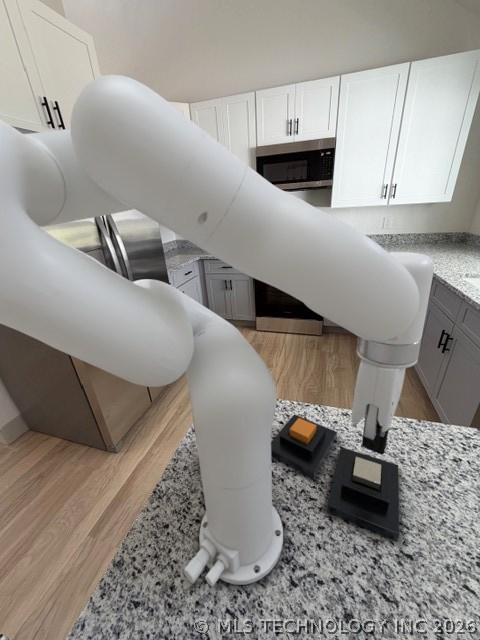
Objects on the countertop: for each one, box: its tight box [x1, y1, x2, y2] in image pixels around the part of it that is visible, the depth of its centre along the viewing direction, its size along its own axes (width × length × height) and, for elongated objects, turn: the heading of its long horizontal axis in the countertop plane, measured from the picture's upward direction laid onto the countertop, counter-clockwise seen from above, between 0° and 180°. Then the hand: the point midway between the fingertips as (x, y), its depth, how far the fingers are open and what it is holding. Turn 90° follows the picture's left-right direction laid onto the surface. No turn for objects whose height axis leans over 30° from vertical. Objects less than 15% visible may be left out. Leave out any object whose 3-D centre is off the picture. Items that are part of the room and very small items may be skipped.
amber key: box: [290, 418, 317, 444], centre depth 56 cm, size 4×4×2 cm
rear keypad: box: [271, 413, 338, 480], centre depth 56 cm, size 12×10×4 cm
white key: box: [352, 457, 381, 492], centre depth 46 cm, size 4×4×2 cm
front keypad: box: [326, 446, 400, 543], centre depth 47 cm, size 13×10×4 cm
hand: (373, 447), depth 44 cm, fingers closed
